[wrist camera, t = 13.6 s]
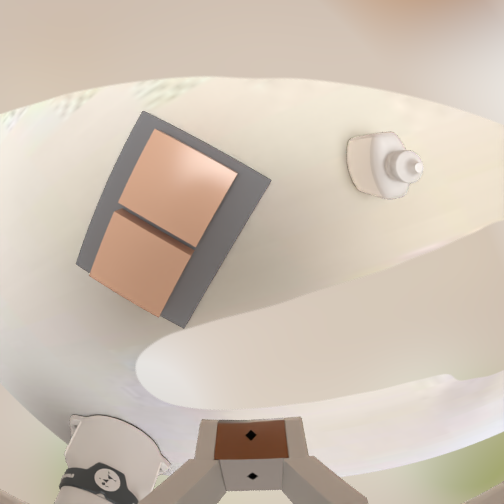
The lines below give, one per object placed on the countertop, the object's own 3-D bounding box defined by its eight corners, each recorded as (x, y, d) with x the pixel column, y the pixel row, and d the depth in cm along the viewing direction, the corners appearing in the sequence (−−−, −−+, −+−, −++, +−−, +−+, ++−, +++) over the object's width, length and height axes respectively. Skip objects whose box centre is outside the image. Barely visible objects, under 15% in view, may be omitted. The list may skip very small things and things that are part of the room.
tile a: (158, 317, 32) (89, 275, 31) (163, 309, 34) (97, 269, 33) (190, 255, 30) (114, 211, 29) (194, 249, 32) (122, 208, 31)
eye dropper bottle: (335, 182, 30) (380, 195, 19) (350, 131, 29) (402, 117, 17) (372, 196, 31) (431, 216, 19) (387, 146, 29) (452, 143, 18)
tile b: (195, 247, 30) (118, 202, 29) (199, 241, 32) (126, 199, 31) (237, 173, 28) (154, 128, 27) (238, 173, 30) (160, 130, 29)
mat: (184, 327, 35) (184, 328, 35) (76, 263, 33) (75, 264, 33) (271, 180, 30) (271, 180, 30) (143, 111, 28) (142, 110, 28)
